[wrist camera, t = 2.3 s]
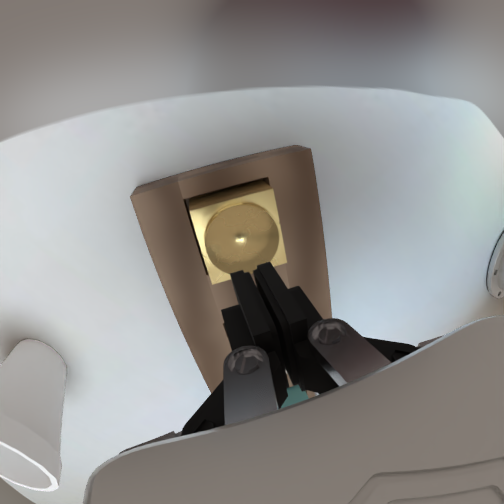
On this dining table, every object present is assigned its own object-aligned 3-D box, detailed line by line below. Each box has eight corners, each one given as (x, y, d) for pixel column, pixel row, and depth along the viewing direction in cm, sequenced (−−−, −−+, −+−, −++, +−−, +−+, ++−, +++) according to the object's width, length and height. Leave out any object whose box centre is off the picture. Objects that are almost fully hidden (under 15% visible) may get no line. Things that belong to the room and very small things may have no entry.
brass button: (261, 179, 21) (275, 190, 18) (274, 245, 23) (290, 266, 20) (188, 198, 20) (189, 214, 17) (208, 264, 22) (213, 289, 19)
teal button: (299, 378, 29) (311, 403, 26) (304, 404, 32) (314, 428, 28) (251, 393, 29) (259, 420, 26) (261, 418, 31) (268, 443, 28)
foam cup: (-10, 328, 22) (-61, 420, 11) (58, 322, 24) (13, 437, 12) (28, 392, 26) (1, 482, 15) (93, 392, 28) (78, 497, 16)
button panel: (295, 144, 22) (310, 148, 20) (327, 389, 34) (336, 407, 32) (136, 187, 21) (129, 196, 18) (231, 419, 33) (235, 439, 31)
